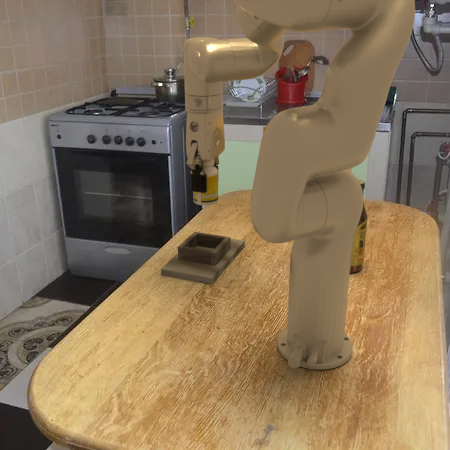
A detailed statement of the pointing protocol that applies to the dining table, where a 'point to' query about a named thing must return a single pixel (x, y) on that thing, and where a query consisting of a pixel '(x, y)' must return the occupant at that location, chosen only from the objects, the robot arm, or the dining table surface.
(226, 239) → the collar board
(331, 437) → the dining table surface
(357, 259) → the sauce bottle
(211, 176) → the supplement bottle
